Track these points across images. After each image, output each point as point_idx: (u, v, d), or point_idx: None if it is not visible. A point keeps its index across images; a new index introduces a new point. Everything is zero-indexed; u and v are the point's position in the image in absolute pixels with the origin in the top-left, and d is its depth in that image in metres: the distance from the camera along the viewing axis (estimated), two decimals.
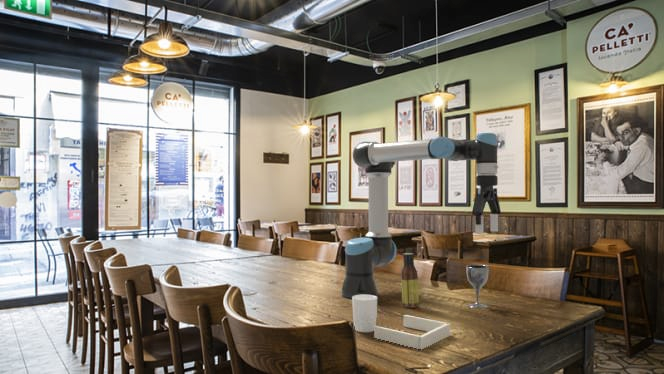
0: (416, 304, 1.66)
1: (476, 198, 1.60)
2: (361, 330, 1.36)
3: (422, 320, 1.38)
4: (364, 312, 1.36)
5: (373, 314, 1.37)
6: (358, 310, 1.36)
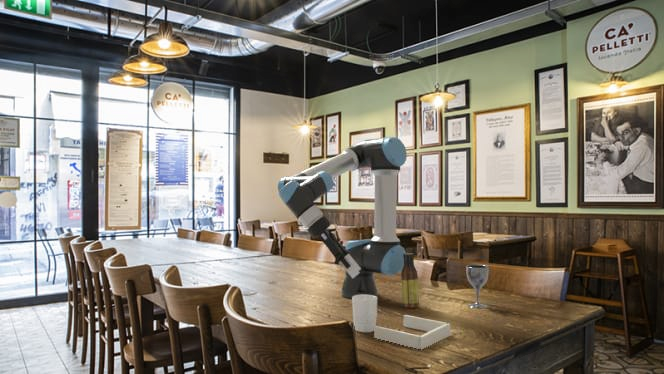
0: (416, 304, 1.66)
1: None
2: (361, 330, 1.36)
3: (422, 320, 1.38)
4: (364, 312, 1.36)
5: (373, 314, 1.37)
6: (358, 310, 1.36)
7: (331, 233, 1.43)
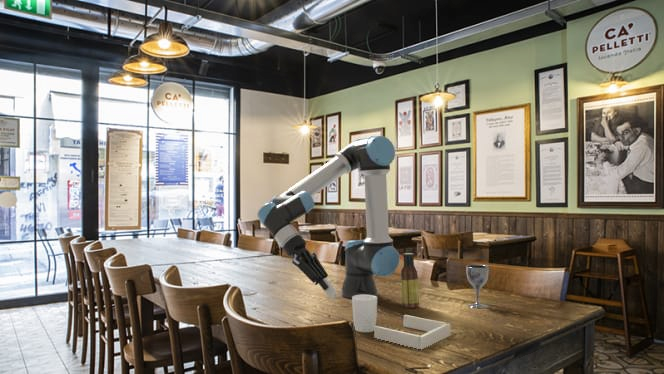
0: (416, 304, 1.66)
1: None
2: (361, 330, 1.36)
3: (422, 320, 1.38)
4: (364, 312, 1.36)
5: (373, 314, 1.37)
6: (358, 310, 1.36)
7: (304, 253, 1.47)
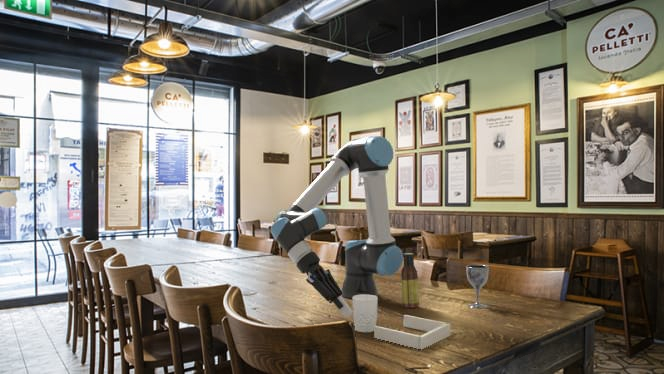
0: (416, 304, 1.66)
1: None
2: (361, 330, 1.36)
3: (422, 320, 1.38)
4: (364, 312, 1.36)
5: (373, 314, 1.37)
6: (358, 310, 1.36)
7: (318, 270, 1.44)
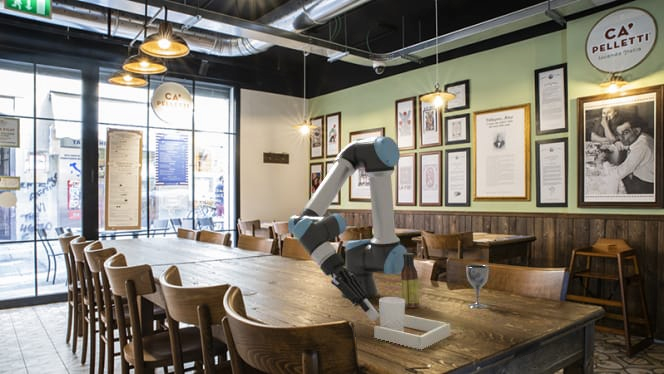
0: (416, 304, 1.66)
1: None
2: None
3: (422, 320, 1.38)
4: (392, 315, 1.32)
5: (401, 317, 1.33)
6: (386, 313, 1.33)
7: (343, 272, 1.40)
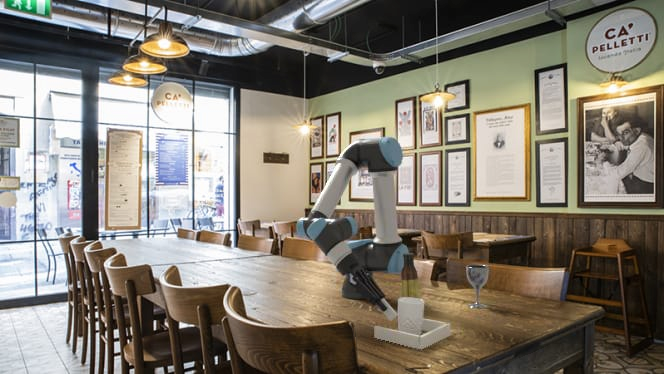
0: None
1: None
2: None
3: None
4: (411, 316, 1.31)
5: (420, 318, 1.32)
6: (405, 313, 1.31)
7: (359, 272, 1.38)
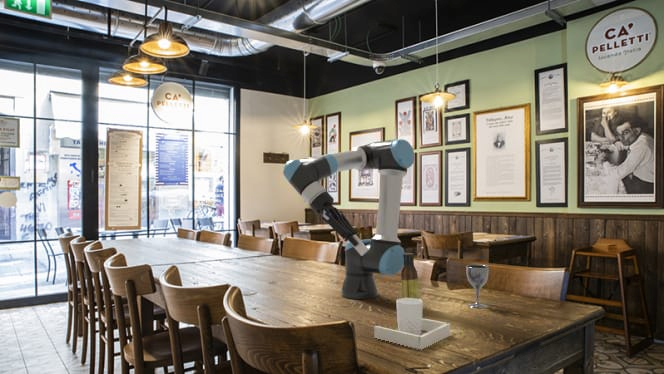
0: None
1: None
2: None
3: (422, 320, 1.38)
4: (410, 316, 1.31)
5: (419, 318, 1.32)
6: (403, 314, 1.32)
7: (332, 209, 1.43)
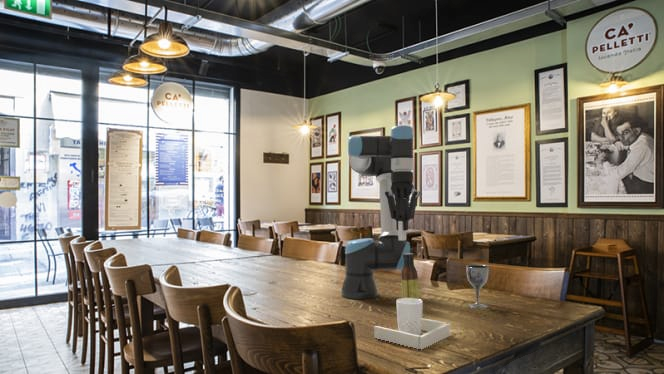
0: None
1: None
2: None
3: (422, 320, 1.38)
4: (410, 316, 1.31)
5: (419, 318, 1.32)
6: (403, 314, 1.32)
7: None
